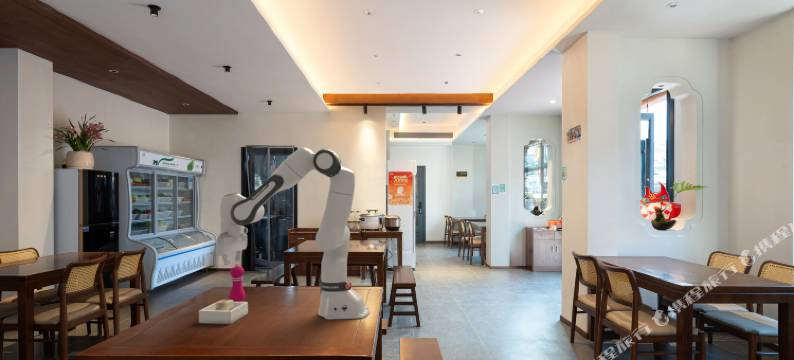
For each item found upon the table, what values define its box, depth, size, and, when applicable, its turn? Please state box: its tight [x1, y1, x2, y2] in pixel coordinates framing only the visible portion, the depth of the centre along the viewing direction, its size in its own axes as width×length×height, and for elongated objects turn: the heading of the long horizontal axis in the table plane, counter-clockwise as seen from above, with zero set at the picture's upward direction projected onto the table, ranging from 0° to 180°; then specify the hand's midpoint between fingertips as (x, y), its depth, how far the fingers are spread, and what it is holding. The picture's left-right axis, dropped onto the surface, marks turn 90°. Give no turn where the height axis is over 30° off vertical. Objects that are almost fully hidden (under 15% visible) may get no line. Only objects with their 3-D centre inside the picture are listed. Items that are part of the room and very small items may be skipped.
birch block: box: [215, 299, 233, 311], centre depth 173 cm, size 5×5×6 cm
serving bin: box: [198, 300, 249, 325], centre depth 173 cm, size 14×14×5 cm
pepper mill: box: [228, 262, 246, 302], centre depth 191 cm, size 7×7×20 cm
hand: (232, 262), depth 176 cm, fingers open, 8 cm apart
